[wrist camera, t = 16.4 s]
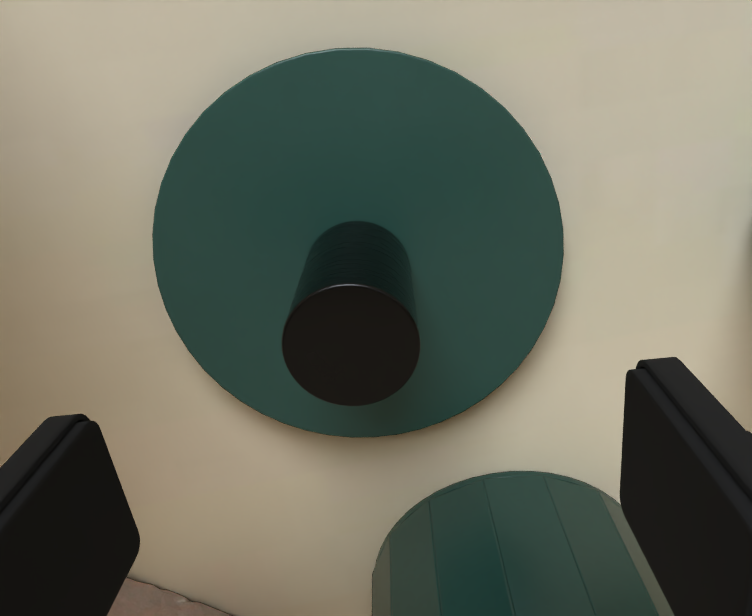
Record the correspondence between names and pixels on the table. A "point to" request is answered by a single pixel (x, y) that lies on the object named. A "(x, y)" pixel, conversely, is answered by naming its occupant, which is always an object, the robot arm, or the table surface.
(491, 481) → the pot
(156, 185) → the table surface
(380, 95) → the pot lid
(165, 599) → the brick
